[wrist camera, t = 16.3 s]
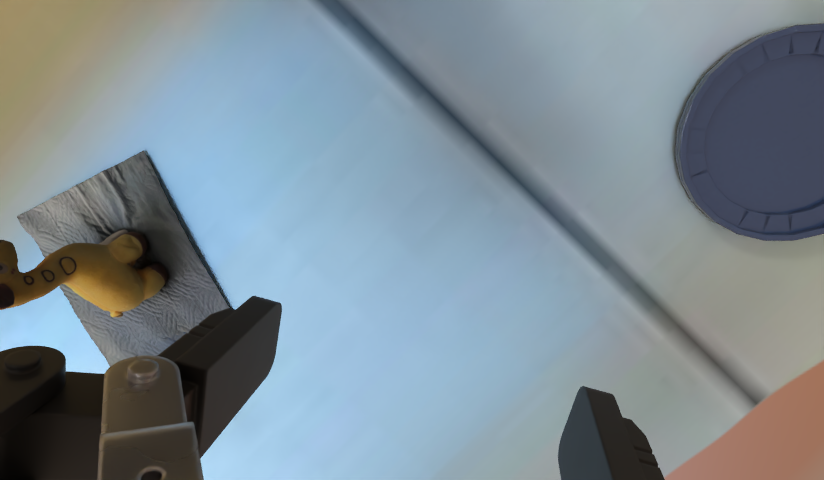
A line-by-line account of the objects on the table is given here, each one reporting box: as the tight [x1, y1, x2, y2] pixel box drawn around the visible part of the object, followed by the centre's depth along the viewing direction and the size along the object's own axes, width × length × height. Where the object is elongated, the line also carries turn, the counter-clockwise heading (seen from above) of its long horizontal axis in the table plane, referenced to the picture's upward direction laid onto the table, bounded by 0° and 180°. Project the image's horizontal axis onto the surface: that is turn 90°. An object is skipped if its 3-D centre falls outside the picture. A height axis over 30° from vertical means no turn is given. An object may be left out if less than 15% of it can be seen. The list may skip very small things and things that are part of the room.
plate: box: [675, 23, 824, 241], centre depth 36 cm, size 15×15×2 cm
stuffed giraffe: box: [0, 151, 229, 367], centre depth 42 cm, size 16×18×16 cm
